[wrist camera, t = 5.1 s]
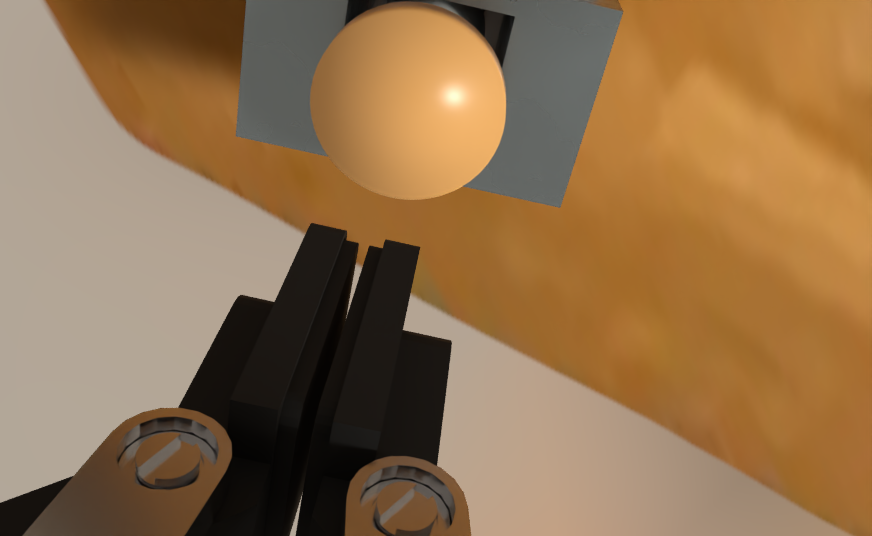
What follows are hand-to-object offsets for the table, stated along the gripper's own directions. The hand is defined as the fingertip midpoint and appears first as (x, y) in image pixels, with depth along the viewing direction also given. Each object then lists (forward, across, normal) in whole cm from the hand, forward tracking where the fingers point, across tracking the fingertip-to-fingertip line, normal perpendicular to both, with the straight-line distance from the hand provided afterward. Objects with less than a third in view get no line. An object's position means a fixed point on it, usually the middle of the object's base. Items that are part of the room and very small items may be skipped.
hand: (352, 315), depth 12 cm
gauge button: (+18, 0, +1) cm, 18 cm away
